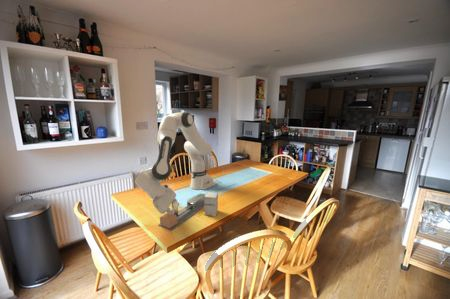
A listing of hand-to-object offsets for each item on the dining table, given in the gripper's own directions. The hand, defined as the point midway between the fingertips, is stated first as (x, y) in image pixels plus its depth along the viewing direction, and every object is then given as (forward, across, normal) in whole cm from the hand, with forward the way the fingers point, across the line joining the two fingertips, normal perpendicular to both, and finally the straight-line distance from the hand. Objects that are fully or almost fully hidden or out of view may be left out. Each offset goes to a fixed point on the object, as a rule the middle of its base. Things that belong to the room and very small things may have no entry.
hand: (176, 209), depth 115 cm
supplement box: (+19, +10, -8) cm, 23 cm away
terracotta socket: (+3, -5, +7) cm, 9 cm away
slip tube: (+5, +5, +3) cm, 8 cm away
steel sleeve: (+11, +18, -2) cm, 21 cm away
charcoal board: (+8, +9, +2) cm, 12 cm away
